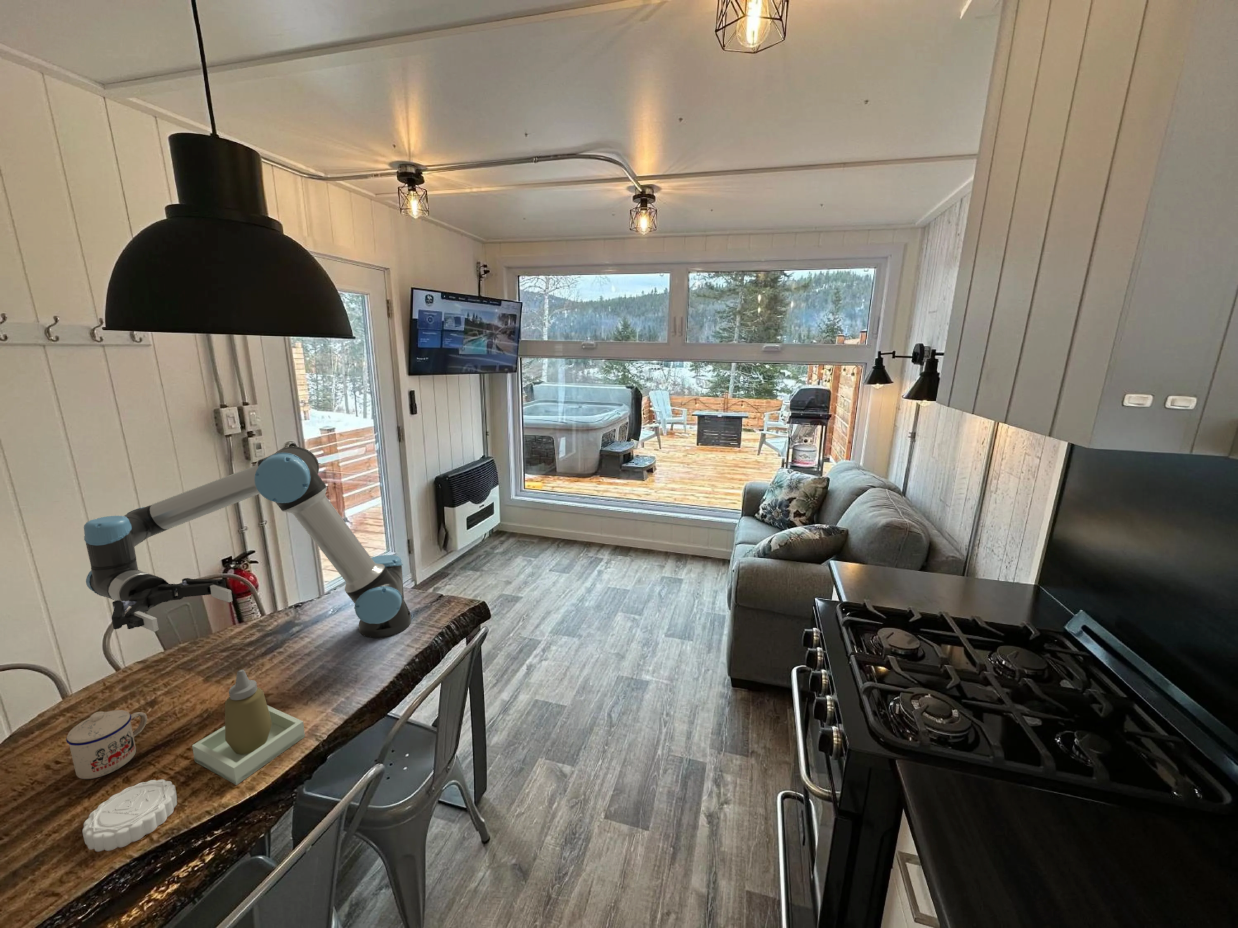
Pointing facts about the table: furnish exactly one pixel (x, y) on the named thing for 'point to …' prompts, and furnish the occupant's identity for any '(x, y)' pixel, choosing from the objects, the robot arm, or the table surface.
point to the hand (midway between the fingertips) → (195, 609)
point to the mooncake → (129, 815)
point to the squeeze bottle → (246, 716)
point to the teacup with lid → (103, 742)
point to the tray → (240, 766)
